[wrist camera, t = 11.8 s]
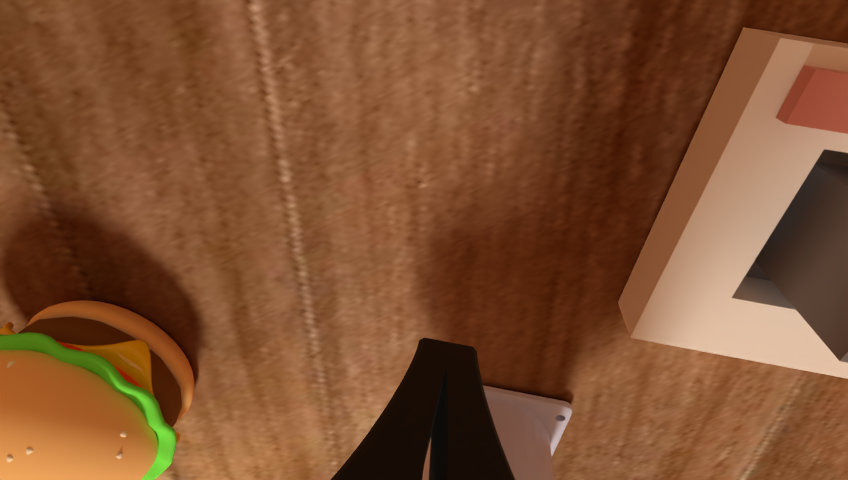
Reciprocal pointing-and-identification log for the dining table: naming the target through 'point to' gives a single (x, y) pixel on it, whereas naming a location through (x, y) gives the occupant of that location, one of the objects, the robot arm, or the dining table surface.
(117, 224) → the dining table surface
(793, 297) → the plug
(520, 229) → the dining table surface
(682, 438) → the dining table surface
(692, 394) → the dining table surface
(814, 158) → the socket
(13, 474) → the hamburger
